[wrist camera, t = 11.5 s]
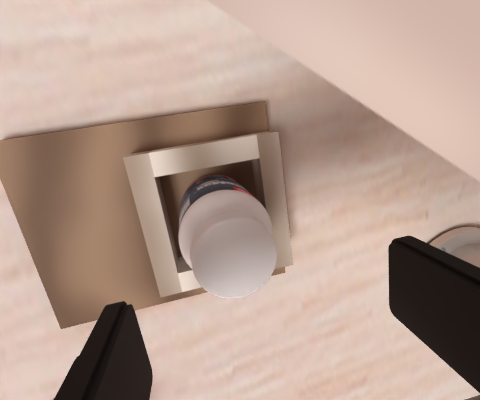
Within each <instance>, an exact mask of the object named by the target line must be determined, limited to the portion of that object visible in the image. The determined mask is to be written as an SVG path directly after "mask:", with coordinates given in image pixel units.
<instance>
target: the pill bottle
mask: <svg viewBox="0 0 480 400" xmlns="http://www.w3.org/2000/svg"><path fill="white" fill-rule="evenodd" d="M178 238H179V246H180V250H181V253H182V255H183V258H184V259H185V261H186V263H187V264H188V265H189V266H190V267H191V268H192V270H193V273H194V276H195V278H196V280H197V281H198V283H199V284H200V285H201V287H203V288H204V289H205V290H206V291H207V292H209V293H210V294H212V295H215V296H217V297H222V298H240V297H244V296H247V295H250V294H252V293H253V292H255V291H257V290H258V289H260V288H261V287H262V286H263V285H264V284H265V283H266V282H267V281H268V280H269V278H270V277H271V275H272V273H273V271H274V269H275V266H276V262H277V247H276V243H275V241H274V238H273V229H272V223H271V220H270V217H269V215H268V213H267V211H266V209H265V208H264V207H263V205H262V204H261V203H260V202H259V201H258V200H257V199H256V198H255V197H254V196H252V195H251V194H250V193H249V192H248V191H247V190H246V189H245V188H244V187H243V186H242V185H241V184H239V183H238V182H237V181H235V180H234V179H232V178H230V177H227V176H224V175H208V176H204V177H202V178H199V179H198V180H196V181H195V182H193V183H192V184H191V185H190V186H189V187H188V188H187V190H186V191H185V193H184V194H183V197H182V199H181V203H180V215H179V233H178Z"/></svg>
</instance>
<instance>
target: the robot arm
mask: <svg viewBox="0 0 480 400" xmlns="http://www.w3.org/2000/svg"><path fill="white" fill-rule="evenodd" d="M389 306H390V310H391V312H392V314H393V315H394V316H395V317H396V318H397V319H398V320H399V321H400V322H401V323H402V324H404V325H405V326H406V327H407V328H408V329H409V330H410V331H411V332H413V333H414V334H415V335H416V336H417V337H418V338H419V339H420V340H421V341H423V342H424V343H425V344H426V345H427V346H428V347H429V348H430V349H431V350H433V351H434V352H435V353H436V354H437V355H438V356H439V357H440V358H441V359H443V360H444V361H445V362H446V363H447V364H448V365H449V366H450V367H451V368H453V369H454V370H455V371H456V372H457V373H458V374H459V375H460V376H461V377H463V378H464V379H465V380H466V381H467V382H468V383H469V384H470V385H471V386H473V387H474V388H475V389H476V390H477V391H478V392H479V393H480V228H477V227H461V228H457V229H453V230H451V231H448V232H446V233H444V234H442V235H441V236H439V237H438V238H436V239H435V240H433V241H432V242H431V243H430V244H427V243H425V242H423V241H421V240H419V239H417V238H414V237H412V236H405V237H401V238H396V239H394V240H393V241H392V243H391V244H390V245H389ZM151 386H152V368H151V365H150V361H149V358H148V355H147V351H146V348H145V344H144V341H143V338H142V334H141V331H140V328H139V324H138V321H137V318H136V314H135V311H134V308H133V305H132V304H128V305H127V303H126V302H125V301H122V302H117V303H113V304H108V305H106V306H105V307H104V309H103V311H102V313H101V315H100V317H99V319H98V321H97V322H96V324H95V326H94V328H93V330H92V332H91V334H90V336H89V338H88V340H87V342H86V344H85V346H84V348H83V350H82V352H81V354H80V356H78V357H77V358H76V359H75V361H74V363H73V364H72V366H71V368H70V370H69V372H68V374H67V376H66V378H65V380H64V382H63V384H62V385H61V387H60V389H59V391H58V393H57V395H56V397H55V399H54V400H149V398H150V392H151ZM466 400H480V395H478V396H475V397H472V398H469V399H466Z"/></svg>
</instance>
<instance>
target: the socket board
mask: <svg viewBox="0 0 480 400" xmlns="http://www.w3.org/2000/svg"><path fill="white" fill-rule="evenodd" d="M208 175H224V176H227V177H230V178H232V179H234V180H235V181H237V182H238V183H239V184H241V185H242V186H243V187H244V188H245V189H246V190H247V191H248V192H249V193H250V194H251V195H252V196H254V197H255V198H256V199H257V200H258V201H259V202H260V203H261V204H262V205H263V207H264V208H265V209H266V211H267V213H268V215H269V217H270V220H271V223H272V229H273V238H274V241H275V243H276V247H277V262H276V266H275V269H274V271H273V273H272V275H271V276H273V275H277V274H281V273H285V266H289V265H293V259H292V250H291V241H290V231H289V222H288V213H287V204H286V194H285V185H284V176H283V167H282V158H281V148H280V139H279V131H268V122H267V114H266V105H265V101H263V102H257V103H250V104H243V105H236V106H230V107H223V108H216V109H209V110H202V111H196V112H189V113H182V114H175V115H168V116H162V117H155V118H148V119H141V120H134V121H128V122H121V123H114V124H107V125H101V126H94V127H87V128H80V129H73V130H67V131H60V132H53V133H46V134H39V135H33V136H26V137H19V138H12V139H5V140H0V179H1V181H2V184H3V186H4V189H5V191H6V194H7V196H8V199H9V201H10V204H11V206H12V209H13V211H14V214H15V216H16V219H17V221H18V223H19V226H20V228H21V231H22V233H23V236H24V238H25V241H26V243H27V246H28V248H29V251H30V253H31V256H32V258H33V261H34V263H35V266H36V268H37V271H38V273H39V276H40V278H41V281H42V283H43V286H44V288H45V291H46V293H47V296H48V298H49V301H50V303H51V305H52V308H53V310H54V313H55V315H56V318H57V320H58V323H59V325H60V328H61V329H63V328H67V327H71V326H75V325H79V324H83V323H87V322H91V321H95V320H98V319H99V317H100V315H101V313H102V311H103V309H104V307H105V306H106V305H108V304H113V303H117V302H122V301H125V302H126V303H127V305H128V304H132V305H133V308H134V310H138V309H142V308H146V307H150V306H154V305H158V304H162V303H166V302H170V301H174V300H178V299H182V298H186V297H190V296H194V295H198V294H202V293H206V292H207V291H206V290H205V289H204V288H203V287H201V285H200V284H199V283H198V281H197V280H196V278H195V276H194V273H193V270H192V268H191V267H190V266H189V265H188V264H187V263H186V261H185V259H184V258H183V255H182V253H181V250H180V246H179V238H178V233H179V215H180V203H181V199H182V197H183V194H184V193H185V191H186V190H187V188H188V187H189V186H190V185H191V184H192V183H193V182H195V181H196V180H198V179H199V178H202V177H204V176H208Z"/></svg>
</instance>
